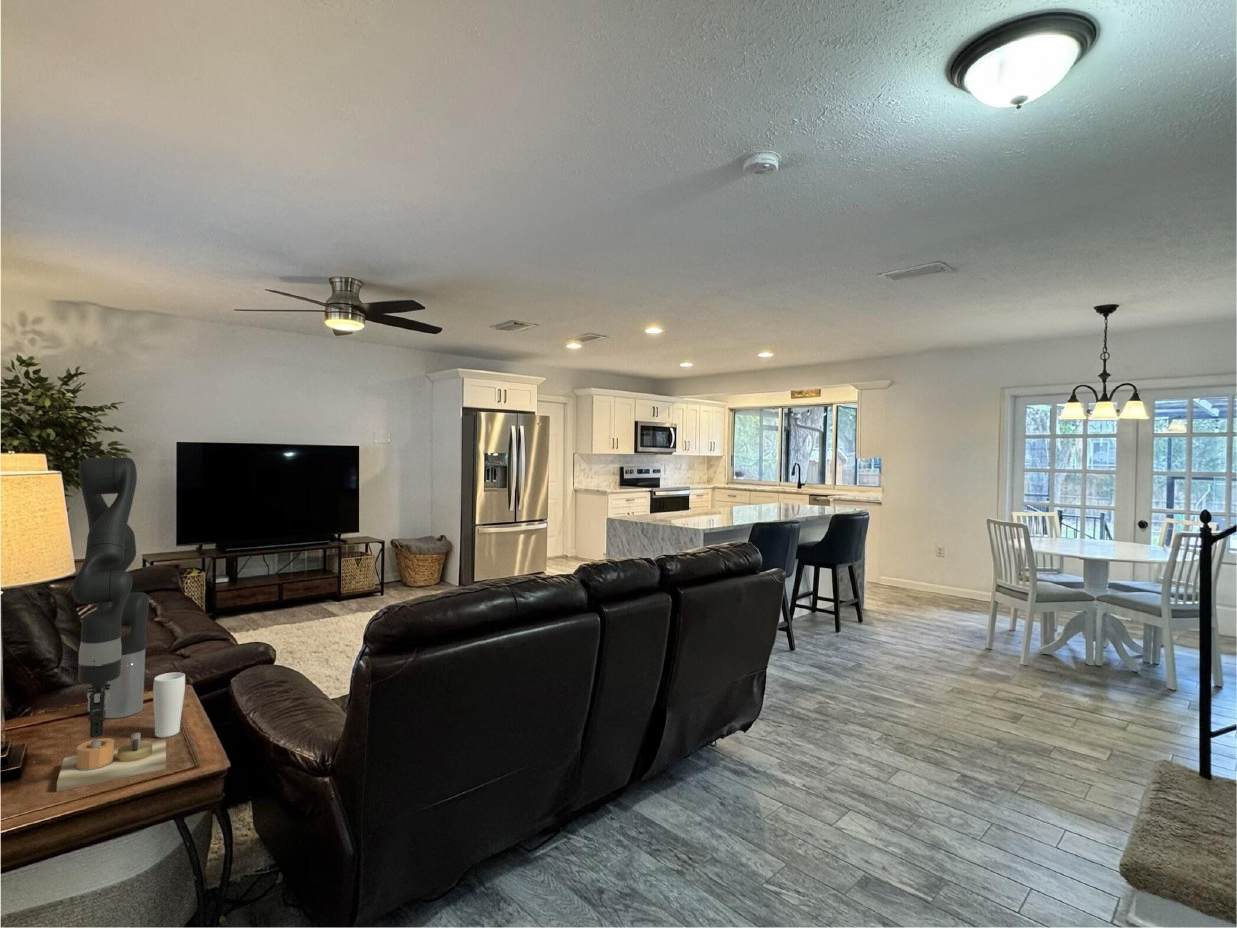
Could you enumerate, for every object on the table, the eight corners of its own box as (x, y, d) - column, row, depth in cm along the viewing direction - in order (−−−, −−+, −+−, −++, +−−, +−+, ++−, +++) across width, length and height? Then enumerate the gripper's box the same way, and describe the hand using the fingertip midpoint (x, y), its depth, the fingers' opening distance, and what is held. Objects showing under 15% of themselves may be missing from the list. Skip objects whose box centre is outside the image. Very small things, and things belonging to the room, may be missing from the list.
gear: (78, 759, 144) (79, 742, 144) (114, 753, 148) (114, 736, 148) (75, 771, 139) (75, 753, 139) (112, 764, 142) (113, 746, 142)
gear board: (63, 766, 145) (65, 736, 145) (165, 747, 156) (166, 719, 156) (56, 791, 134) (57, 759, 134) (165, 769, 146) (167, 739, 146)
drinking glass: (164, 727, 167) (166, 671, 167) (189, 729, 166) (191, 672, 166) (144, 738, 160) (146, 680, 160) (170, 740, 160) (172, 681, 160)
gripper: (81, 652, 146) (79, 720, 147) (75, 670, 135) (72, 745, 135) (122, 647, 151) (120, 714, 151) (119, 665, 139) (117, 737, 140)
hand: (97, 728), depth 143 cm, fingers open, 8 cm apart
